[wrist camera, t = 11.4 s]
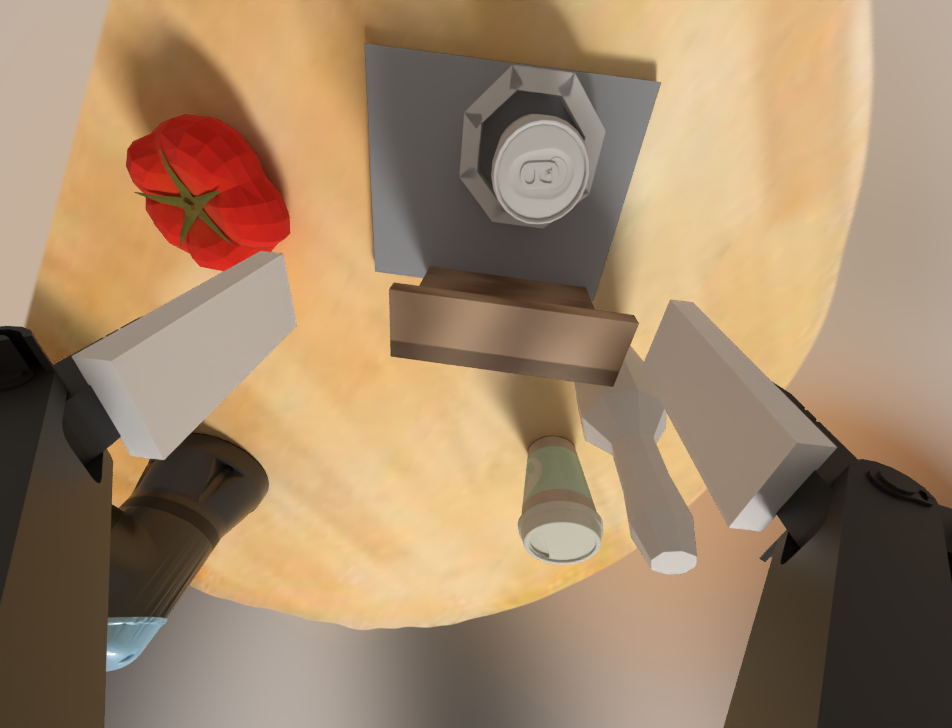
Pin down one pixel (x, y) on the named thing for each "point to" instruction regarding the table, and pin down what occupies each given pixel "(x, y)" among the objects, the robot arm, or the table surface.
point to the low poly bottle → (640, 464)
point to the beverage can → (539, 168)
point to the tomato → (207, 191)
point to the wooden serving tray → (508, 326)
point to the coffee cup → (558, 505)
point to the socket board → (470, 163)
